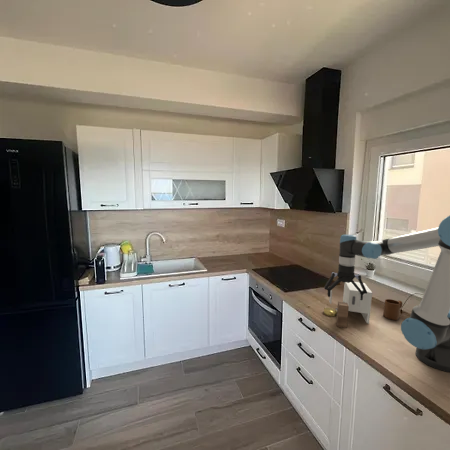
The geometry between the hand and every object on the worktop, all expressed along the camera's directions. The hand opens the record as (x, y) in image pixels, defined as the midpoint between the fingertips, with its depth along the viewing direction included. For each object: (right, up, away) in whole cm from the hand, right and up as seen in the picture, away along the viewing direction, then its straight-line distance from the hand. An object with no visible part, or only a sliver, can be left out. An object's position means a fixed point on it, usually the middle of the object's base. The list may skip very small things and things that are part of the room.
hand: (344, 304), depth 134 cm
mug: (+35, -12, +14) cm, 39 cm away
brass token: (-1, -11, +15) cm, 18 cm away
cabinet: (+13, -11, +14) cm, 22 cm away
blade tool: (+1, -11, +9) cm, 14 cm away
